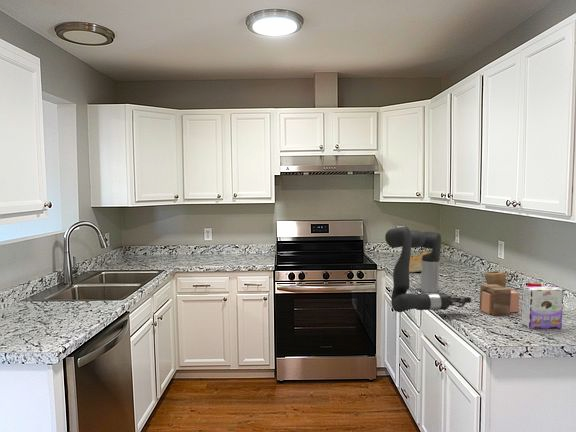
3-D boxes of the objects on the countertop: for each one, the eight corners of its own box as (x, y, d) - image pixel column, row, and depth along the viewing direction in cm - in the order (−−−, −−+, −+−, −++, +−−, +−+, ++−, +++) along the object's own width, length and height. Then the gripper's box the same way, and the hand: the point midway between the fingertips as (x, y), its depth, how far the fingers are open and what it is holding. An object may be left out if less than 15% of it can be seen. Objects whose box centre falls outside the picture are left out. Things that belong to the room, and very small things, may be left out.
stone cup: (480, 295, 212) (481, 268, 211) (503, 296, 211) (504, 268, 210) (492, 303, 197) (493, 274, 196) (517, 304, 196) (518, 274, 195)
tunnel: (479, 309, 187) (480, 284, 186) (494, 308, 189) (495, 283, 188) (494, 316, 177) (495, 289, 177) (509, 315, 179) (511, 289, 178)
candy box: (551, 323, 168) (554, 285, 167) (561, 328, 162) (564, 289, 161) (520, 323, 167) (522, 285, 166) (529, 328, 162) (531, 289, 160)
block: (481, 310, 184) (481, 291, 184) (510, 308, 188) (511, 290, 187) (488, 313, 180) (489, 294, 179) (518, 311, 183) (519, 292, 182)
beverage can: (526, 303, 197) (528, 280, 197) (541, 306, 194) (542, 282, 193) (524, 306, 193) (526, 282, 192) (539, 309, 189) (541, 284, 188)
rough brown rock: (430, 270, 281) (429, 249, 281) (436, 273, 264) (435, 251, 265) (396, 270, 283) (396, 250, 284) (400, 273, 267) (400, 251, 267)
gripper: (444, 297, 169) (480, 295, 173) (427, 289, 182) (460, 288, 186) (444, 314, 170) (479, 312, 173) (427, 305, 183) (460, 303, 186)
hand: (469, 299), depth 180 cm, fingers closed
